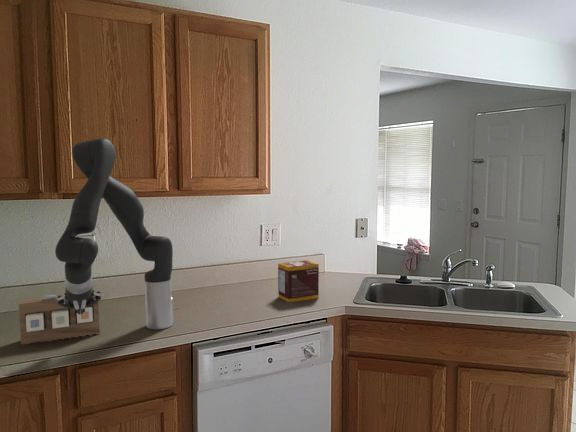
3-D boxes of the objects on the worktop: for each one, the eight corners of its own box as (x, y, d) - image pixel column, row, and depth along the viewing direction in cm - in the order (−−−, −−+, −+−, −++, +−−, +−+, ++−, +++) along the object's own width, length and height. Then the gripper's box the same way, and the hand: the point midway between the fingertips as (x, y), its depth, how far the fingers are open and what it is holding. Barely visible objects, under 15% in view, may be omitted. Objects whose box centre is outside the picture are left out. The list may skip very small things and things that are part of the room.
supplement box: (319, 298, 206) (319, 263, 204) (288, 302, 199) (288, 267, 198) (307, 292, 215) (307, 259, 214) (278, 297, 208) (277, 263, 207)
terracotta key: (77, 319, 163) (76, 305, 162) (92, 317, 165) (91, 303, 164) (77, 323, 158) (76, 309, 158) (93, 321, 160) (92, 307, 160)
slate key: (27, 327, 154) (26, 313, 154) (44, 325, 157) (43, 311, 156) (26, 332, 150) (25, 317, 150) (43, 329, 152) (43, 315, 152)
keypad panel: (22, 339, 157) (20, 297, 156) (99, 329, 167) (97, 289, 166) (21, 345, 152) (18, 301, 151) (99, 334, 162) (97, 293, 161)
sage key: (53, 324, 158) (52, 310, 157) (69, 322, 160) (68, 308, 159) (52, 328, 153) (51, 314, 153) (69, 326, 155) (68, 312, 155)
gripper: (101, 270, 144) (101, 299, 156) (54, 274, 138) (57, 304, 150) (103, 290, 139) (102, 319, 151) (54, 296, 134) (57, 325, 146)
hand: (80, 311), depth 151 cm, fingers closed
